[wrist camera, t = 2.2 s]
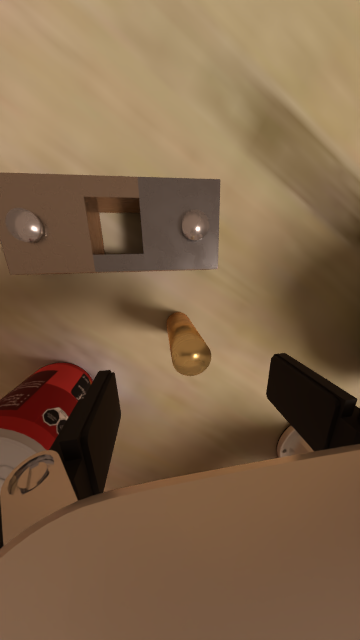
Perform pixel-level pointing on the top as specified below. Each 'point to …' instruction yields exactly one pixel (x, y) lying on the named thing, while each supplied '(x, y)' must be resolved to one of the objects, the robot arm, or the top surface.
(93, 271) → the bolted slotted plate
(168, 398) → the top surface
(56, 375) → the canned food
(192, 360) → the pin
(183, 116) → the top surface
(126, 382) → the top surface
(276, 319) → the top surface
